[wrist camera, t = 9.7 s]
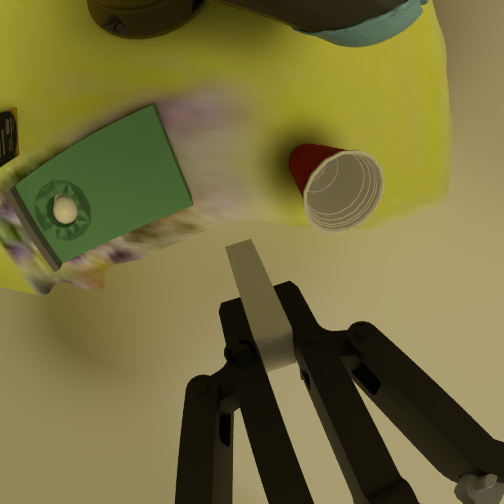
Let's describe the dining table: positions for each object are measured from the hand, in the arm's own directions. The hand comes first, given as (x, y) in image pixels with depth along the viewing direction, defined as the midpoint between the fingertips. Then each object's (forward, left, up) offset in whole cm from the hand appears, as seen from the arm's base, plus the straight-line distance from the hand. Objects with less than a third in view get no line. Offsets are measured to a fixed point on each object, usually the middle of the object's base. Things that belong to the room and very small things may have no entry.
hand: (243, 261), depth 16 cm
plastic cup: (+6, +13, -24) cm, 28 cm away
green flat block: (-2, -15, -24) cm, 28 cm away
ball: (-2, -20, -21) cm, 29 cm away
